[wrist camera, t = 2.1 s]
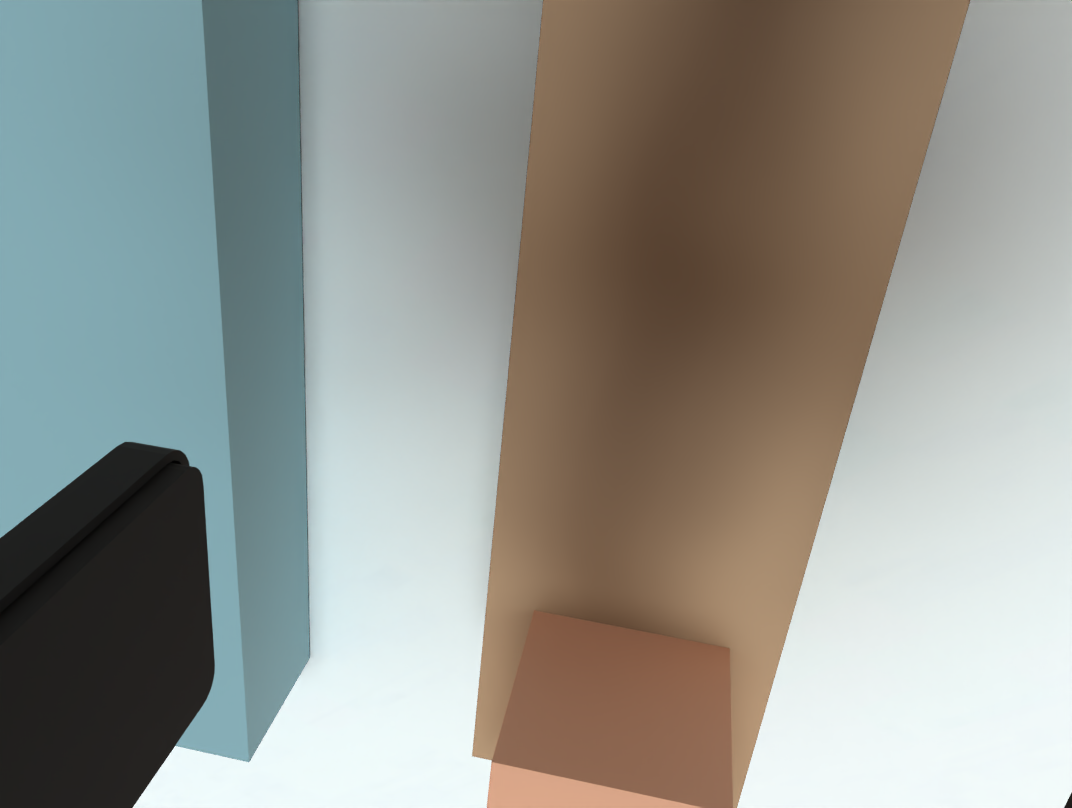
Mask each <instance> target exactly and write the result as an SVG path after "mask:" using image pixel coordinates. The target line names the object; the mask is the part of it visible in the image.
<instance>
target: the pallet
mask: <svg viewBox="0 0 1072 808" xmlns="http://www.w3.org/2000/svg"><path fill="white" fill-rule="evenodd" d="M969 3H970V0H543V8H542V18H541V29H540V40H539V50H538V61H537V72H536V82H535V93H534V104H533V114H532V125H531V135H530V146H529V157H528V167H527V178H526V189H525V199H524V210H523V221H522V231H521V242H520V253H519V263H518V274H517V285H516V295H515V306H514V317H513V327H512V338H511V348H510V359H509V370H508V380H507V391H506V402H505V412H504V423H503V434H502V444H501V455H500V466H499V476H498V487H497V498H496V508H495V519H494V530H493V540H492V551H491V561H490V572H489V583H488V593H487V604H486V615H485V625H484V636H483V647H482V657H481V668H480V679H479V689H478V700H477V711H476V721H475V732H474V743H473V753H472V756H474V757H479V758H484V759H488V760H492V759H493V755H494V752H495V748H496V745H497V741H498V738H499V734H500V731H501V727H502V723H503V720H504V716H505V713H506V709H507V706H508V702H509V698H510V695H511V691H512V688H513V684H514V681H515V677H516V673H517V670H518V666H519V663H520V659H521V656H522V652H523V649H524V645H525V641H526V638H527V634H528V631H529V627H530V624H531V620H532V616H533V613H534V610H535V611H541V612H546V613H551V614H556V615H561V616H566V617H572V618H577V619H582V620H587V621H592V622H597V623H602V624H608V625H613V626H618V627H623V628H628V629H633V630H639V631H644V632H649V633H654V634H659V635H664V636H669V637H674V638H680V639H685V640H690V641H695V642H700V643H705V644H710V645H715V646H720V647H726V648H730V685H731V735H732V784H733V808H737V805H738V802H739V799H740V795H741V792H742V788H743V785H744V781H745V778H746V774H747V771H748V767H749V764H750V760H751V757H752V754H753V750H754V747H755V743H756V740H757V736H758V733H759V729H760V726H761V722H762V719H763V715H764V712H765V709H766V705H767V702H768V698H769V695H770V691H771V688H772V684H773V681H774V677H775V674H776V670H777V667H778V664H779V660H780V657H781V653H782V650H783V646H784V643H785V639H786V636H787V632H788V629H789V625H790V622H791V619H792V615H793V612H794V608H795V605H796V601H797V598H798V594H799V591H800V587H801V584H802V580H803V577H804V574H805V570H806V567H807V563H808V560H809V556H810V553H811V549H812V546H813V542H814V539H815V536H816V532H817V529H818V525H819V522H820V518H821V515H822V511H823V508H824V504H825V501H826V497H827V494H828V491H829V487H830V484H831V480H832V477H833V473H834V470H835V466H836V463H837V459H838V456H839V452H840V449H841V446H842V442H843V439H844V435H845V432H846V428H847V425H848V421H849V418H850V414H851V411H852V407H853V404H854V401H855V397H856V394H857V390H858V387H859V383H860V380H861V376H862V373H863V369H864V366H865V362H866V359H867V356H868V352H869V349H870V345H871V342H872V338H873V335H874V331H875V328H876V324H877V321H878V317H879V314H880V311H881V307H882V304H883V300H884V297H885V293H886V290H887V286H888V283H889V279H890V276H891V273H892V269H893V266H894V262H895V259H896V255H897V252H898V248H899V245H900V241H901V238H902V234H903V231H904V228H905V224H906V221H907V217H908V214H909V210H910V207H911V203H912V200H913V196H914V193H915V189H916V186H917V183H918V179H919V176H920V172H921V169H922V165H923V162H924V158H925V155H926V151H927V148H928V144H929V141H930V138H931V134H932V131H933V127H934V124H935V120H936V117H937V113H938V110H939V106H940V103H941V99H942V96H943V93H944V89H945V86H946V82H947V79H948V75H949V72H950V68H951V65H952V61H953V58H954V54H955V51H956V48H957V44H958V41H959V37H960V34H961V30H962V27H963V23H964V20H965V16H966V13H967V10H968V6H969Z"/></svg>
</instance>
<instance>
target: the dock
mask: <svg viewBox="0 0 1072 808" xmlns="http://www.w3.org/2000/svg"><path fill="white" fill-rule="evenodd" d="M124 442H136V443H142V444H147V445H153V446H159V447H164V448H170V449H176V450H180V451H182V452H183V453H184V454H185V455H186V457H187V459H188V461H189V465H190V466H192V467H196V468H198V469H199V470H200V472H201V474H202V478H203V485H204V501H205V517H206V533H207V548H208V564H209V580H210V596H211V612H212V628H213V643H214V659H215V674H214V680H213V684H212V687H211V690H210V693H209V695H208V697H207V699H206V701H205V703H204V705H203V706H202V708H201V709H200V710H199V712H198V713H197V715H196V716H195V718H194V719H193V721H192V722H191V723H190V725H189V726H188V728H187V729H186V731H185V732H184V734H183V735H182V737H181V738H180V739H179V741H178V742H177V744H176V745H175V746H179V747H183V748H188V749H192V750H197V751H201V752H206V753H210V754H215V755H219V756H224V757H228V758H233V759H237V760H242V761H246V762H249V761H250V760H251V758H252V756H253V755H254V753H255V751H256V749H257V748H258V746H259V744H260V742H261V741H262V739H263V737H264V736H265V734H266V732H267V730H268V729H269V727H270V725H271V724H272V722H273V720H274V718H275V717H276V715H277V713H278V711H279V710H280V708H281V706H282V705H283V703H284V701H285V699H286V698H287V696H288V694H289V693H290V691H291V689H292V687H293V686H294V684H295V682H296V680H297V679H298V677H299V675H300V674H301V672H302V670H303V668H304V667H305V665H306V663H307V662H308V660H309V658H310V650H309V595H308V541H307V486H306V431H305V377H304V322H303V267H302V213H301V158H300V104H299V49H298V0H0V538H1V537H2V536H4V535H5V534H6V533H7V532H9V531H10V530H11V529H12V528H14V527H15V526H16V525H18V524H19V523H20V522H21V521H23V520H24V519H25V518H26V517H28V516H29V515H30V514H32V513H33V512H34V511H35V510H37V509H38V508H39V507H40V506H42V505H43V504H44V503H45V502H47V501H48V500H49V499H51V498H52V497H53V496H54V495H56V494H57V493H58V492H59V491H61V490H62V489H63V488H65V487H66V486H67V485H68V484H70V483H71V482H72V481H73V480H75V479H76V478H77V477H79V476H80V475H81V474H82V473H84V472H85V471H86V470H87V469H89V468H90V467H91V466H93V465H94V464H95V463H96V462H98V461H99V460H100V459H101V458H103V457H104V456H105V455H107V454H108V453H109V452H110V451H112V450H113V449H114V448H115V447H117V446H118V445H120V444H122V443H124Z"/></svg>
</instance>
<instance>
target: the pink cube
mask: <svg viewBox="0 0 1072 808" xmlns="http://www.w3.org/2000/svg"><path fill="white" fill-rule="evenodd" d="M487 808H733V784H732V735H731V685H730V648H726V647H720V646H715V645H710V644H705V643H700V642H695V641H690V640H685V639H680V638H674V637H669V636H664V635H659V634H654V633H649V632H644V631H639V630H633V629H628V628H623V627H618V626H613V625H608V624H602V623H597V622H592V621H587V620H582V619H577V618H572V617H566V616H561V615H556V614H551V613H546V612H541V611H535V610H534V613H533V616H532V620H531V624H530V627H529V631H528V634H527V638H526V641H525V645H524V649H523V652H522V656H521V659H520V663H519V666H518V670H517V673H516V677H515V681H514V684H513V688H512V691H511V695H510V698H509V702H508V706H507V709H506V713H505V716H504V720H503V723H502V727H501V731H500V734H499V738H498V741H497V745H496V748H495V752H494V755H493V759H492V764H491V773H490V782H489V792H488V801H487Z"/></svg>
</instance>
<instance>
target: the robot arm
mask: <svg viewBox="0 0 1072 808" xmlns="http://www.w3.org/2000/svg"><path fill="white" fill-rule="evenodd" d="M214 674H215V659H214V643H213V628H212V612H211V596H210V580H209V564H208V548H207V533H206V517H205V501H204V485H203V478H202V474H201V472H200V470H199V469H198V468H196V467H192V466H190V465H189V461H188V459H187V457H186V455H185V454H184V453H183V452H182V451H180V450H176V449H170V448H164V447H159V446H153V445H147V444H142V443H136V442H124V443H122V444H120V445H118V446H117V447H115V448H114V449H113V450H112V451H110V452H109V453H108V454H107V455H105V456H104V457H103V458H101V459H100V460H99V461H98V462H96V463H95V464H94V465H93V466H91V467H90V468H89V469H87V470H86V471H85V472H84V473H82V474H81V475H80V476H79V477H77V478H76V479H75V480H73V481H72V482H71V483H70V484H68V485H67V486H66V487H65V488H63V489H62V490H61V491H59V492H58V493H57V494H56V495H54V496H53V497H52V498H51V499H49V500H48V501H47V502H45V503H44V504H43V505H42V506H40V507H39V508H38V509H37V510H35V511H34V512H33V513H32V514H30V515H29V516H28V517H26V518H25V519H24V520H23V521H21V522H20V523H19V524H18V525H16V526H15V527H14V528H12V529H11V530H10V531H9V532H7V533H6V534H5V535H4V536H2V537H1V538H0V808H132V807H133V806H134V805H135V803H136V802H137V800H138V799H139V797H140V796H141V794H142V793H143V792H144V790H145V789H146V787H147V786H148V784H149V783H150V781H151V780H152V778H153V777H154V776H155V774H156V773H157V771H158V770H159V768H160V767H161V765H162V764H163V763H164V761H165V760H166V758H167V757H168V755H169V754H170V752H171V751H172V750H173V748H174V747H175V745H176V744H177V742H178V741H179V739H180V738H181V737H182V735H183V734H184V732H185V731H186V729H187V728H188V726H189V725H190V723H191V722H192V721H193V719H194V718H195V716H196V715H197V713H198V712H199V710H200V709H201V708H202V706H203V705H204V703H205V701H206V699H207V697H208V695H209V693H210V690H211V687H212V684H213V680H214ZM1064 808H1072V793H1071V795H1070V797H1069V799H1068V801H1067V803H1066V805H1065V807H1064Z"/></svg>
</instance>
